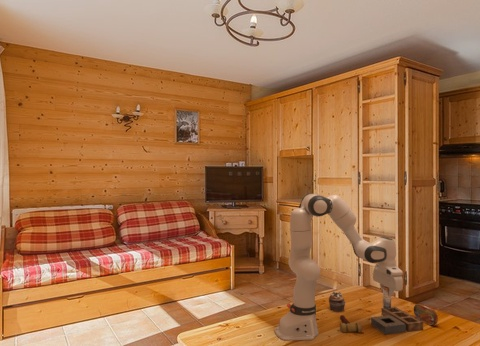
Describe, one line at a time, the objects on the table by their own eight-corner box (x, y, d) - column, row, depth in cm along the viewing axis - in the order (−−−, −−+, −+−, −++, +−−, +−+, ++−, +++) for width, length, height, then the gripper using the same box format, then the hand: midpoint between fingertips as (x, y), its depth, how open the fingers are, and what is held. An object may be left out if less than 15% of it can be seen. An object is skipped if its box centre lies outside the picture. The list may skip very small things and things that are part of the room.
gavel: (332, 311, 197) (349, 311, 197) (332, 319, 197) (349, 319, 196) (342, 324, 176) (361, 324, 176) (342, 333, 176) (362, 333, 175)
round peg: (386, 309, 179) (386, 288, 179) (381, 306, 182) (381, 286, 183) (392, 309, 179) (392, 287, 180) (387, 306, 183) (387, 285, 184)
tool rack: (408, 331, 177) (408, 323, 177) (381, 315, 198) (381, 308, 198) (423, 329, 179) (423, 322, 179) (395, 313, 200) (395, 306, 200)
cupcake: (327, 311, 205) (327, 294, 205) (330, 305, 214) (329, 289, 214) (344, 313, 201) (344, 296, 201) (346, 307, 210) (345, 291, 210)
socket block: (385, 334, 174) (384, 326, 174) (371, 324, 185) (370, 317, 185) (405, 332, 176) (405, 324, 176) (390, 322, 188) (390, 315, 188)
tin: (413, 316, 195) (413, 301, 195) (418, 316, 196) (417, 301, 196) (434, 328, 181) (433, 312, 181) (439, 327, 181) (438, 311, 182)
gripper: (369, 263, 191) (369, 288, 191) (394, 273, 171) (394, 301, 171) (379, 262, 192) (380, 287, 192) (405, 272, 172) (405, 300, 172)
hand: (386, 294), depth 181 cm, fingers closed on round peg, 4 cm apart
